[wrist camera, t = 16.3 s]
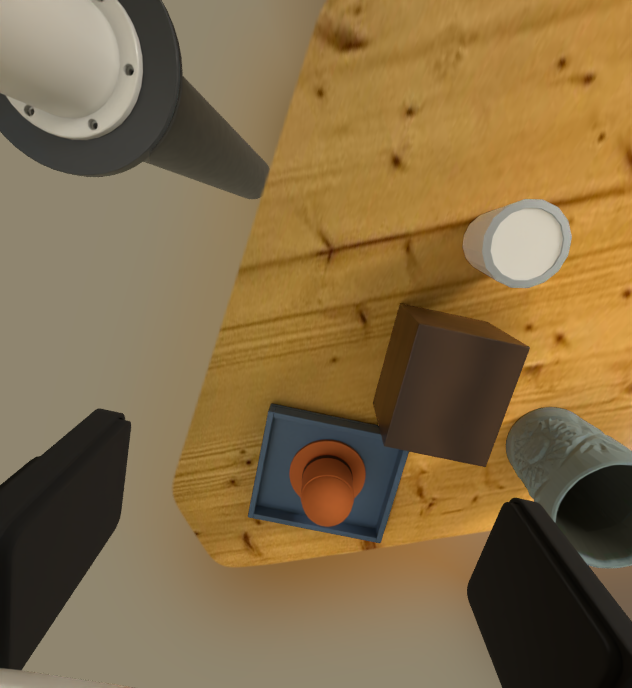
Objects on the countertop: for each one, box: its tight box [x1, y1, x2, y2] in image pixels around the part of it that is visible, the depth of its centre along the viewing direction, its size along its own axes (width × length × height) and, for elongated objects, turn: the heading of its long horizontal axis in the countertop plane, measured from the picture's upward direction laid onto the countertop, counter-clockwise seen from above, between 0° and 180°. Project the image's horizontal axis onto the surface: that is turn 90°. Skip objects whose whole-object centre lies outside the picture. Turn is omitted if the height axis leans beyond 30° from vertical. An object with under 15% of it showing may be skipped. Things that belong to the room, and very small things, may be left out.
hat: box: [289, 440, 366, 527], centre depth 42 cm, size 8×8×7 cm
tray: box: [248, 404, 409, 543], centre depth 45 cm, size 15×13×2 cm
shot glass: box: [463, 199, 572, 288], centre depth 35 cm, size 7×7×7 cm
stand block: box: [373, 303, 530, 467], centre depth 38 cm, size 9×11×9 cm
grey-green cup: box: [506, 407, 632, 568], centre depth 38 cm, size 10×10×12 cm
